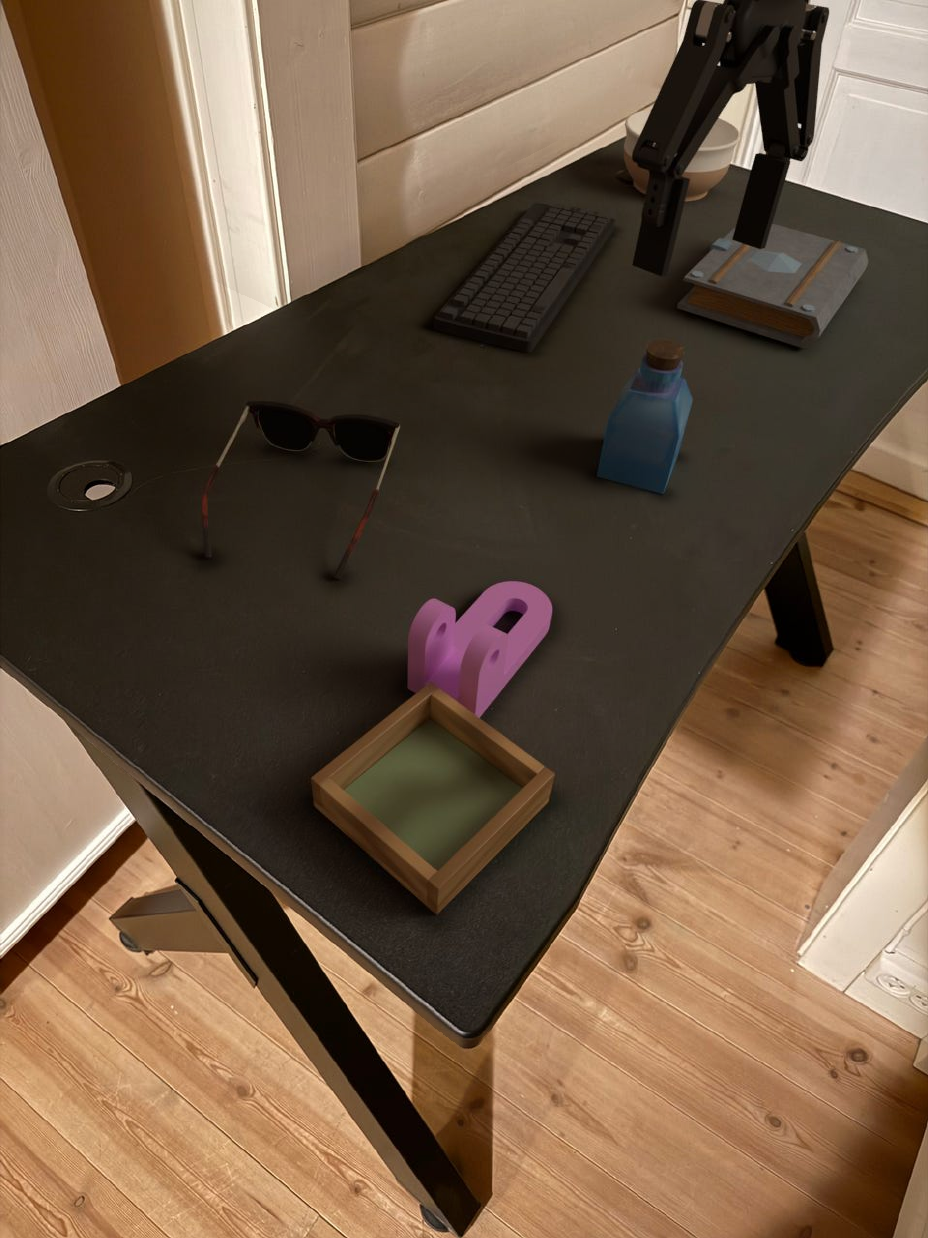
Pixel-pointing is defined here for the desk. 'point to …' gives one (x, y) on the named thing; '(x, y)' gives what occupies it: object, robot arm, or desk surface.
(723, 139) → the bowl
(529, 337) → the keyboard
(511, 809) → the holder
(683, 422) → the blue bottle with cork
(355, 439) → the sunglasses
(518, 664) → the bracket
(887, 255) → the desk surface
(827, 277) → the book
